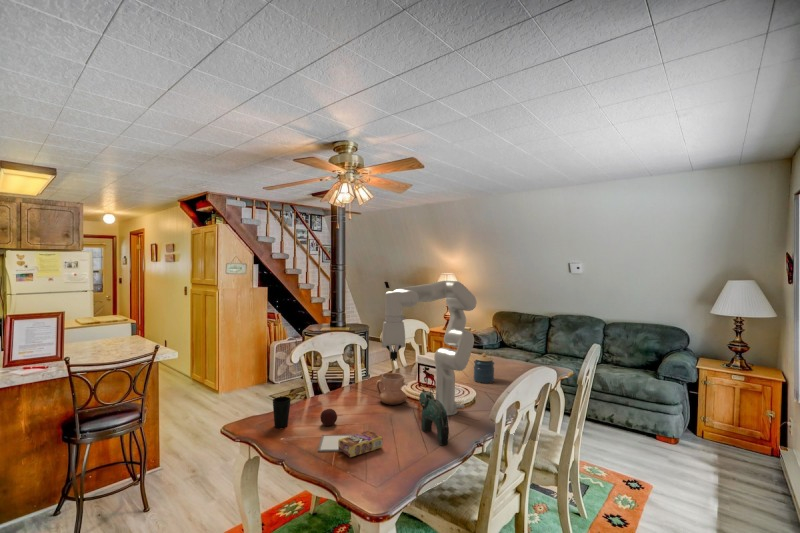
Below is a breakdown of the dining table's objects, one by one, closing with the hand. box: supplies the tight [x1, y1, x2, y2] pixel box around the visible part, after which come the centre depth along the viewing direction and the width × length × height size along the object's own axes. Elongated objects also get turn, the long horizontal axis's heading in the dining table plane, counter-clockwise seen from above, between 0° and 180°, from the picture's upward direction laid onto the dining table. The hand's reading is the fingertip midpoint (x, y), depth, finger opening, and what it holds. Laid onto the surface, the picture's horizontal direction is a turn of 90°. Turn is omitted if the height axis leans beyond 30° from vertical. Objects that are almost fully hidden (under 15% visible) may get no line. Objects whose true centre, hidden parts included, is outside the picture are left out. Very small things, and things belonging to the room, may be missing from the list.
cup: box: [272, 396, 291, 430], centre depth 175 cm, size 8×8×12 cm
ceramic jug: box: [375, 372, 409, 406], centre depth 209 cm, size 18×14×14 cm
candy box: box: [338, 429, 384, 458], centre depth 154 cm, size 9×4×15 cm
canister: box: [473, 352, 495, 384], centre depth 251 cm, size 13×13×18 cm
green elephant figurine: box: [418, 387, 450, 447], centre depth 168 cm, size 20×6×20 cm, turn 23°
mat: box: [317, 434, 376, 453], centre depth 160 cm, size 22×14×1 cm, turn 94°
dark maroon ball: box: [320, 408, 338, 427], centre depth 178 cm, size 7×8×7 cm
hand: (393, 360), depth 175 cm, fingers closed
